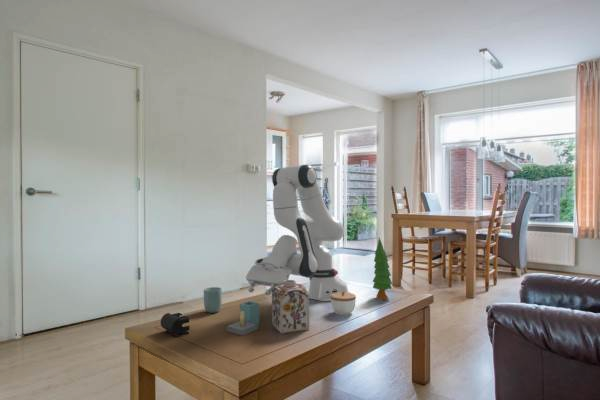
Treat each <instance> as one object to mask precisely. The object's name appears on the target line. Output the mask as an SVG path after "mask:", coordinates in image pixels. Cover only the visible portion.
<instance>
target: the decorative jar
mask: <svg viewBox="0 0 600 400" xmlns="http://www.w3.org/2000/svg"><path fill="white" fill-rule="evenodd" d="M271 322H272V323H271V324H272V326H273V327H274V328H275V329H276V331H278V332H279V333H280V334H289V333H295V332H302V331H310V324H311V323H310V298H309V295H308V290H307V288H306V286H304V285H303V284H300V283H297V282H296V280H294V279H288V280H285V281H284V284H280V285H277V286H276V287H274V289H273V291H272V292H271Z"/></svg>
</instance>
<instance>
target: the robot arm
mask: <svg viewBox="0 0 600 400" xmlns="http://www.w3.org/2000/svg"><path fill="white" fill-rule="evenodd" d="M271 180H272V181H271V182H272V185H273V191H272V192H273V193H272V207H273V216H274V219H275V221H276V223H277V224H278V225H279V226H282V228H285V229H287V230H289V231H290V232H292V233H293V234H294V235H295V237H294V236H292V235H289V234H283V235H281V236H280V237H279V238H278V240H277V241H276V242H275V244H274V246H273V247H272V250H271V252H270V253H269V254H268V256H265V257H263V258H258V259H256V260H255V261H254V264H253V266H251V267H250V269H249V271H248V272H247V274H246V276H245V280H246V281H247V282H248V283H249V287H248V290H247V291H248V292H249V293H253V292H254V291H255V286H256V285H260V286H264V287H269V288H268V289H266V290H265V292H264V294H265V295H266V296H271V295H272V291H273V289H274V287H276V286H277V285H280V284H284V281H285V280H290V275H292V276H300V277H303V278H307V279H309V285H308V290H307V292H308V295H309V300H310V299H311V300H316V301H319V302H331V295H332V294H334V293H342V291H344V293H351V292H350V291H348V290H349V289H348V286H347V283H346V282H345V281H343V280H342V279H341V278H339V277H338V274H339V272H338V270H337V269H335V268H333V254H332V252H331V250H330V249H329V248H327V246H326V245H325V242H327V243H328V242H331V243H332V242H337V241H340V240H342V238H343V237H344V235H345V228H344V225H343V223H342V222H341V221H340V220H338V219H336V217H334V216H333V214H332V213H331V212H330V210H329V208H327V205H326V203H325V199H324V196H323V193H322V189H321V186H320V183H319V182H318V179H317V172H316V169H315V168H314V167H313V166H312V165H311V164H296V165H290V166H283V167H278V168H277V169H275V170H274V171H273V173H272V176H271ZM296 192H297V193H296ZM297 194H298V197H299V201H300V204H301V208H302V211H303V213H304V214H305V215H306V216H308V217H309V218H307V219H304V218H303V217H302V215H301V213H300V210H299V203H298V197H297ZM297 244H298V246H299V251H300V252H299V253H298V251H297Z"/></svg>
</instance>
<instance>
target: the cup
mask: <svg viewBox="0 0 600 400" xmlns="http://www.w3.org/2000/svg"><path fill="white" fill-rule="evenodd" d="M222 291H223V289H222V287H219V286H212V287H211V286H210V287H205V288H204V289H203V306H204V310H205V311H206V313H211V314H213V313H214V314H215V313H218V312H220V310H221V308H222V303H223V292H222Z"/></svg>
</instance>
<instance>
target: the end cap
mask: <svg viewBox="0 0 600 400" xmlns="http://www.w3.org/2000/svg"><path fill="white" fill-rule="evenodd" d="M182 315H183V314H182V313H181V312H177V313H169V312H167V313H165V314H164V315H162V317H161V318H160V326H161V327H162V328H163V329H164V330H166V331H167V332H168V333H171V334H172V335H174V336H176V337H182V336H185V335H189V334H190V332H189V331H190V325H186V326H183V325H184V324H187V323H190V317H189V316H187V315H183V316H182Z"/></svg>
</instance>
